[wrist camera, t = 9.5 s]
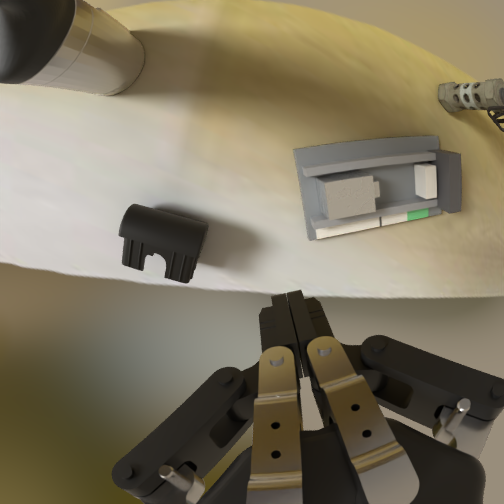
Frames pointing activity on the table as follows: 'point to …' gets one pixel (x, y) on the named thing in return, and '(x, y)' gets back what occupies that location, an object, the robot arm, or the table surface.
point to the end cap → (162, 240)
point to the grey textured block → (347, 194)
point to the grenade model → (474, 97)
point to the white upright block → (425, 180)
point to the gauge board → (390, 181)
